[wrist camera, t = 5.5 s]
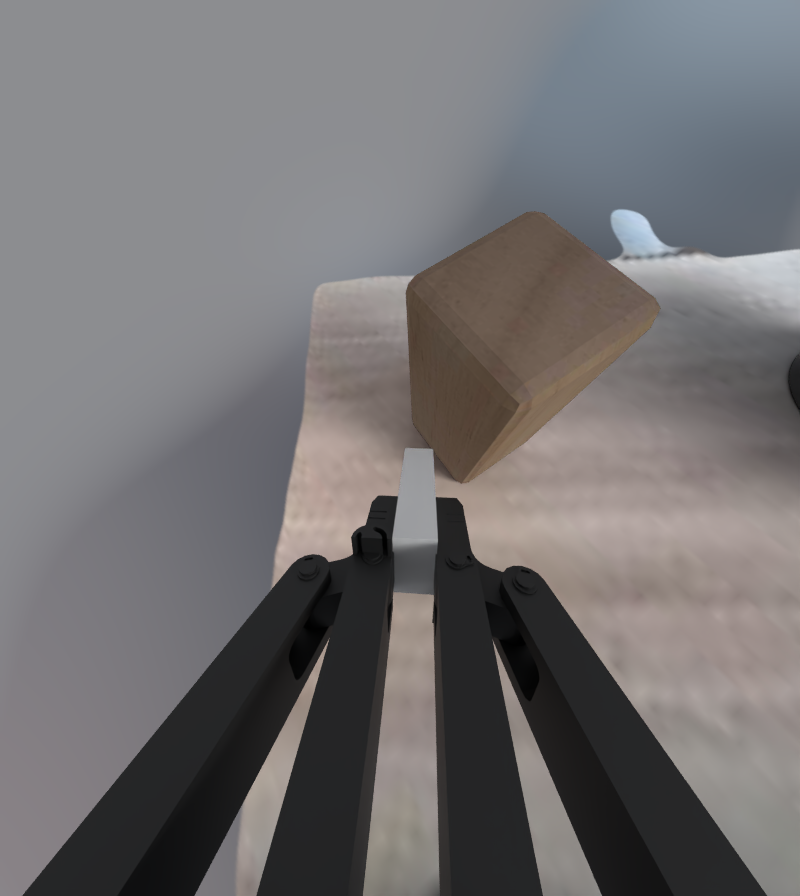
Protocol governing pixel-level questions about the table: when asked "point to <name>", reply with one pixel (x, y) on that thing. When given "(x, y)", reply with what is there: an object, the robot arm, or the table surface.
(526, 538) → the table surface
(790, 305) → the table surface
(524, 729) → the table surface
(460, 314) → the block
